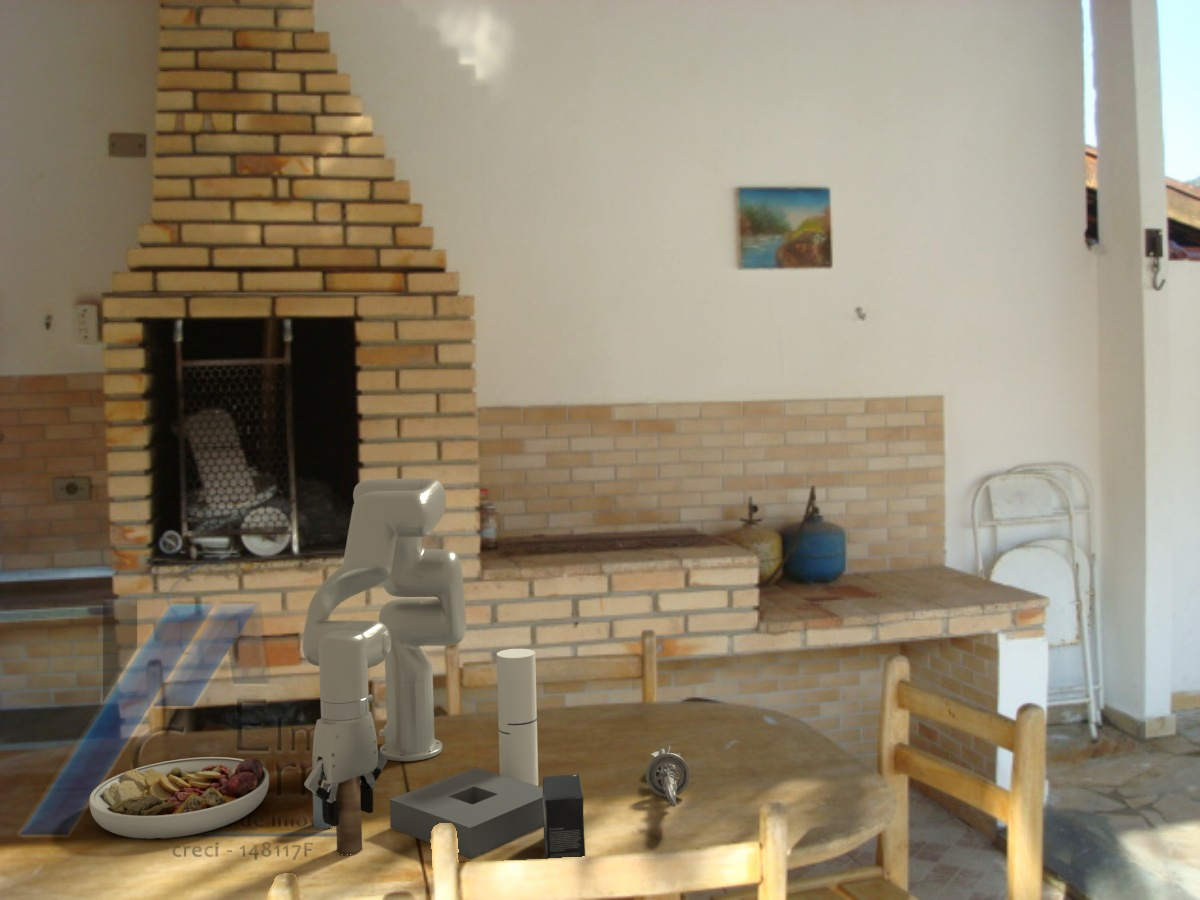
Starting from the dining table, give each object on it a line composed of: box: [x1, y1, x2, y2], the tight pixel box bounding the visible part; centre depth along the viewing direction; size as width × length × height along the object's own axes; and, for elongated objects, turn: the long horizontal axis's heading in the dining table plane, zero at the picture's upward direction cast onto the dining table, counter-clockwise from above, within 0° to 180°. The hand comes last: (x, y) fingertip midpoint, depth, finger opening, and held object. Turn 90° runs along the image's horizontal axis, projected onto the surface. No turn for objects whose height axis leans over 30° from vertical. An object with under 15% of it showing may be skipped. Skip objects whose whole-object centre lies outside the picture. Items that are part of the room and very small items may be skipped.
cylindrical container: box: [496, 648, 539, 786], centre depth 211 cm, size 7×7×25 cm
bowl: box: [88, 756, 270, 840], centre depth 203 cm, size 30×30×8 cm
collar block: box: [389, 767, 544, 859], centre depth 194 cm, size 20×20×5 cm
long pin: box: [335, 776, 363, 856], centre depth 184 cm, size 4×4×14 cm
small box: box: [542, 773, 586, 859], centre depth 183 cm, size 11×6×10 cm, turn 5°
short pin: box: [312, 786, 333, 830], centre depth 195 cm, size 4×4×6 cm
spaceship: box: [645, 745, 691, 807], centre depth 205 cm, size 8×35×8 cm
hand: (348, 816), depth 184 cm, fingers open, 6 cm apart
